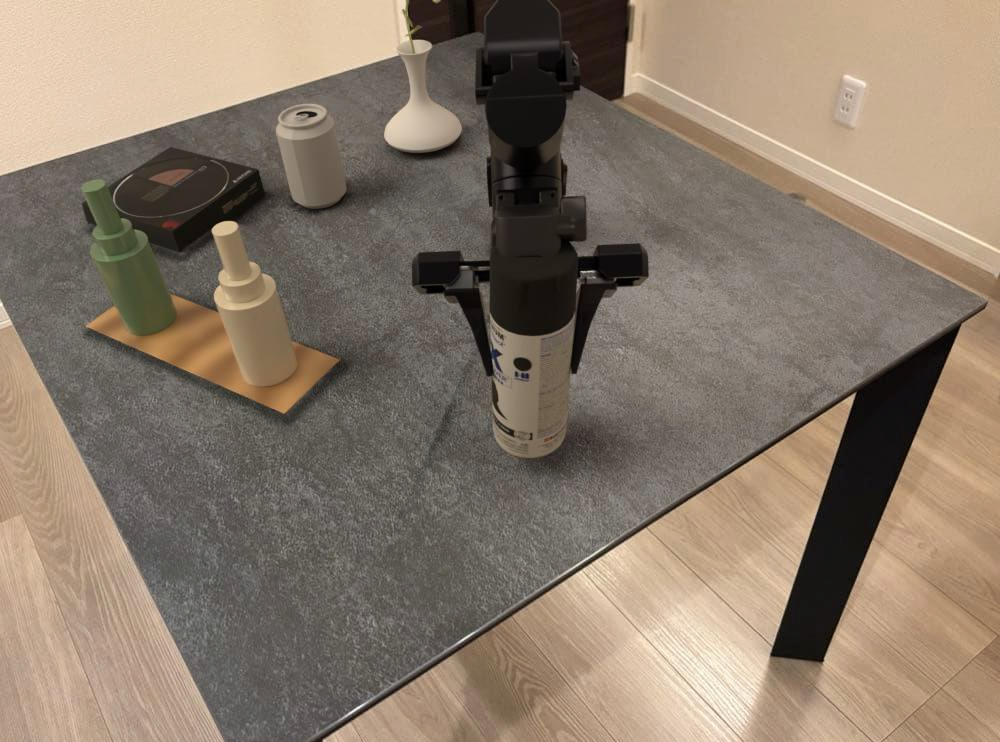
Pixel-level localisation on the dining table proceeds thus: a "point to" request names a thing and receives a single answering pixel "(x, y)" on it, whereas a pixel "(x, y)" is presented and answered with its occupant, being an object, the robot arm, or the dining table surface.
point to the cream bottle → (251, 313)
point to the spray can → (532, 349)
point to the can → (311, 155)
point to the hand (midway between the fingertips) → (531, 375)
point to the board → (216, 353)
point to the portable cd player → (183, 196)
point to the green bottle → (128, 266)
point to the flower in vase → (420, 105)
